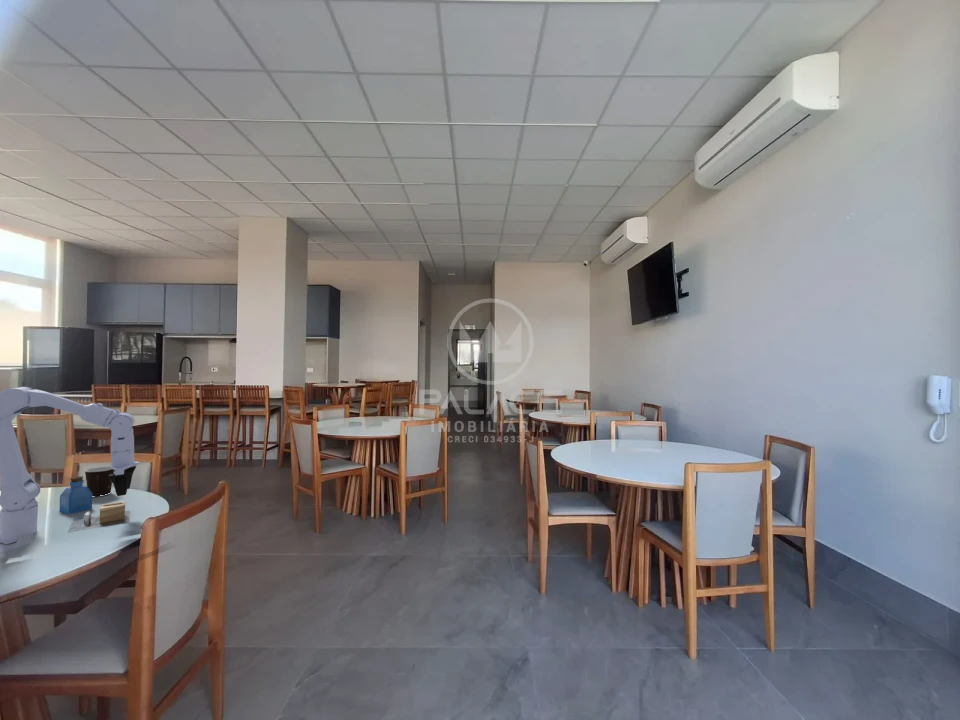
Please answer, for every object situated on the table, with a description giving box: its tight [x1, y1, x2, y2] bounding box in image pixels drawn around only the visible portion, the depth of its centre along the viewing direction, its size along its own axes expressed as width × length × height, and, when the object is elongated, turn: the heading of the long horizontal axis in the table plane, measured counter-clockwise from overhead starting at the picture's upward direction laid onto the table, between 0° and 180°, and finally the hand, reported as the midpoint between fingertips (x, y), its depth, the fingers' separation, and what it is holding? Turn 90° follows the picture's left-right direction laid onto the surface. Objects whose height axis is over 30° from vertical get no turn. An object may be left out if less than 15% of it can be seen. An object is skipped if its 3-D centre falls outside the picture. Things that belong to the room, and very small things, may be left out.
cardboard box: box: [99, 500, 126, 523], centre depth 135 cm, size 5×6×5 cm
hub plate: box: [67, 509, 131, 533], centre depth 133 cm, size 14×13×4 cm
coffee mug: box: [84, 465, 115, 496], centre depth 161 cm, size 12×9×10 cm
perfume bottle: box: [59, 475, 93, 515], centre depth 143 cm, size 6×6×12 cm
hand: (123, 492), depth 135 cm, fingers open, 7 cm apart
